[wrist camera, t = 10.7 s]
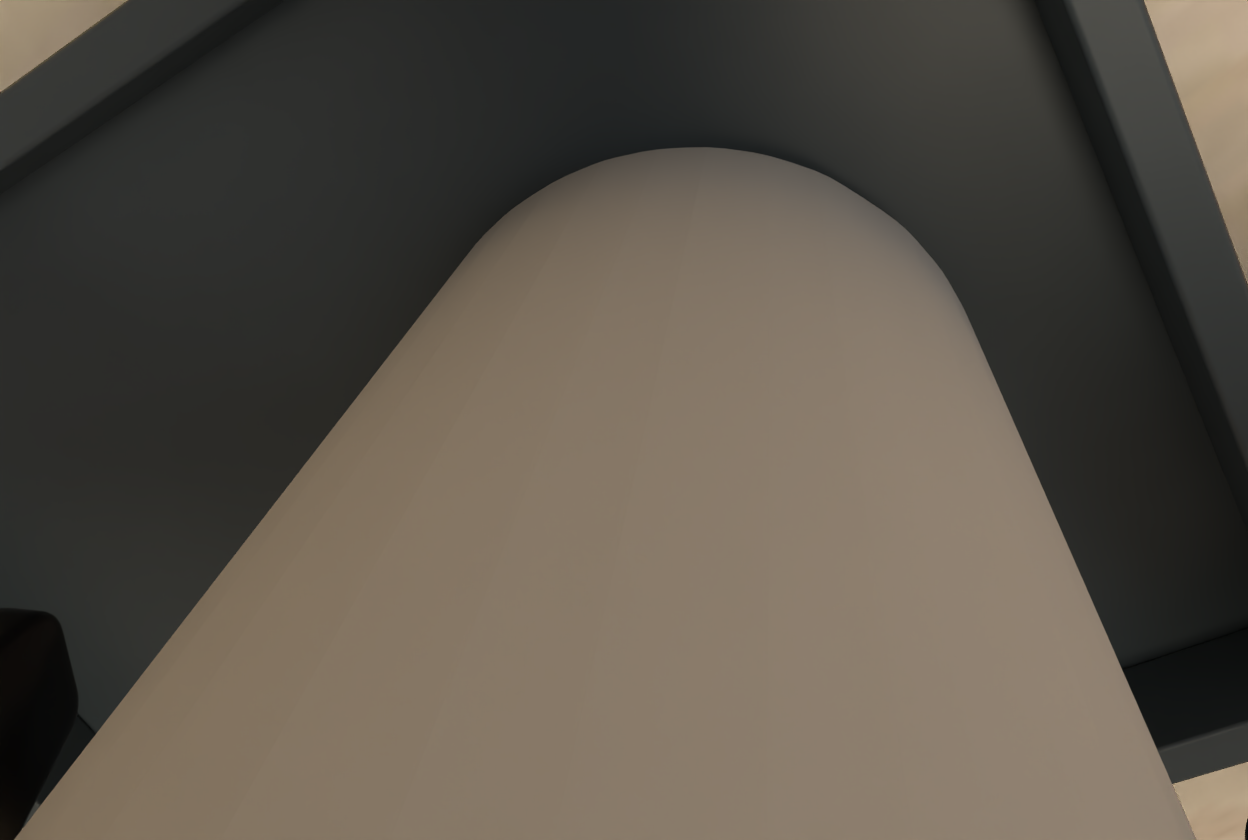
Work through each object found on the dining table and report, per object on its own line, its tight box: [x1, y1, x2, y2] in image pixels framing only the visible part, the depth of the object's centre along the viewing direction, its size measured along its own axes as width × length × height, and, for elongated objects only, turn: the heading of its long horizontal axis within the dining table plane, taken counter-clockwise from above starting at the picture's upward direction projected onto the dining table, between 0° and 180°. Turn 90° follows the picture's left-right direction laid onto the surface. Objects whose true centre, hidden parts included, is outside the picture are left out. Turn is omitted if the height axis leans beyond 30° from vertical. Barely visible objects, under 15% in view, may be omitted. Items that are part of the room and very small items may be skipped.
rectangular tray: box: [0, 0, 1248, 828], centre depth 14 cm, size 17×13×2 cm
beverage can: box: [14, 147, 1196, 840], centre depth 8 cm, size 6×6×12 cm
